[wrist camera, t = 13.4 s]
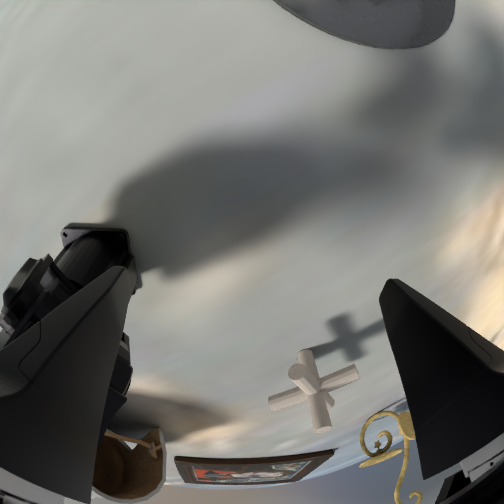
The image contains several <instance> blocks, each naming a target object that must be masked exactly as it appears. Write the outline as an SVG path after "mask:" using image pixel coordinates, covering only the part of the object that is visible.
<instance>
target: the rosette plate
mask: <svg viewBox="0 0 504 504" xmlns="http://www.w3.org/2000/svg"><path fill="white" fill-rule="evenodd" d="M273 1H275V2H276V3H277V4H278V5H280V6H281V7H282V8H284V9H285V10H287V11H288V12H290V13H291V14H293V15H294V16H296V17H297V18H299V19H301V20H302V21H304V22H306V23H308V24H310V25H311V26H313V27H315V28H317V29H319V30H322V31H324V32H326V33H328V34H330V35H333V36H335V37H338V38H340V39H343V40H346V41H349V42H353V43H356V44H359V45H364V46H369V47H373V48H382V49H404V48H412V47H419V46H422V45H425V44H428V43H430V42H432V41H434V40H436V39H437V38H438V37H440V36H441V35H442V34H443V33H444V32H445V31H446V29H447V28H448V27H449V25H450V23H451V21H452V18H453V14H454V8H455V0H273Z"/></svg>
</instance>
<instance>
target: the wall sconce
mask: <svg viewBox="0 0 504 504" xmlns="http://www.w3.org/2000/svg"><path fill="white" fill-rule="evenodd" d="M382 415H390V416H392V417H394V418H395V419H396V420H397V421H398V426H399V433H402V434H403V437H404V444H405V453H404V462H403V466H402V470H401V473H400V477H399V479H398V482H397V485H396V489H395V495H394V497H395V502H396V504H403V503H401V501H400V499H399V491H400V487H401V484H402V481H403V478H404V475H405V472H406V468H407V464H408V459H409V439H410V440H414V439H416V438H415V432H414V428H413V423H412V419H411V415H410V412H407V411H404V412H402V413H401V414H400V415H398V414H397V413H395V412H392V411H381V412H378V413H376V414H375V415H373V416H372V417H371V418H370V419H368V421H367V422H366V423H365V424H364V426H363V428H362V431H361V434H360V443H361V447H362V449H363V451H364V453H365V454H366V455H368V456H370V457H373V458H371V459H369V460H366V461H365V462H363V463H362V464H360V466H359V467H366V466H369V465H372V464H376V463H378V462H381V461H384V460H386V459H388V458H391V457H392V456H395V455H396V454H398V453H400V452H401V451H402V450H403V449H401V448H399V449H395V450H391V451H388V452H385V451H387V450H388V449H389V447H390V446H391V444H392V435H391V434H390V432H388V431H382V432H380V433H379V434H378V436H377V437H381V436H382V435H386V436H387V438H388V443H387V445H386V446H385V447H384V448H383V449H379V446H380V445H381V443H379V440H378V441H377V442H374V443H375V447H374V448H376V447H377V448H378V450H377V451H376V453H371V452H369V451H368V449H367V448H366V445H365V442H364V435H365V431H366V429H367V427H368V425H369V424H370V423H371V422H372V421H373V420H374V419H376V418H377V417H379V416H382ZM384 452H385V453H384ZM414 494H416V495H417V496H418V500H417V502H416V503H415V504H420V502H421V500H422V493H421V492H420V491H413V492H412V493H411V494H410V498H411V497H412V496H413V495H414Z"/></svg>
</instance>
